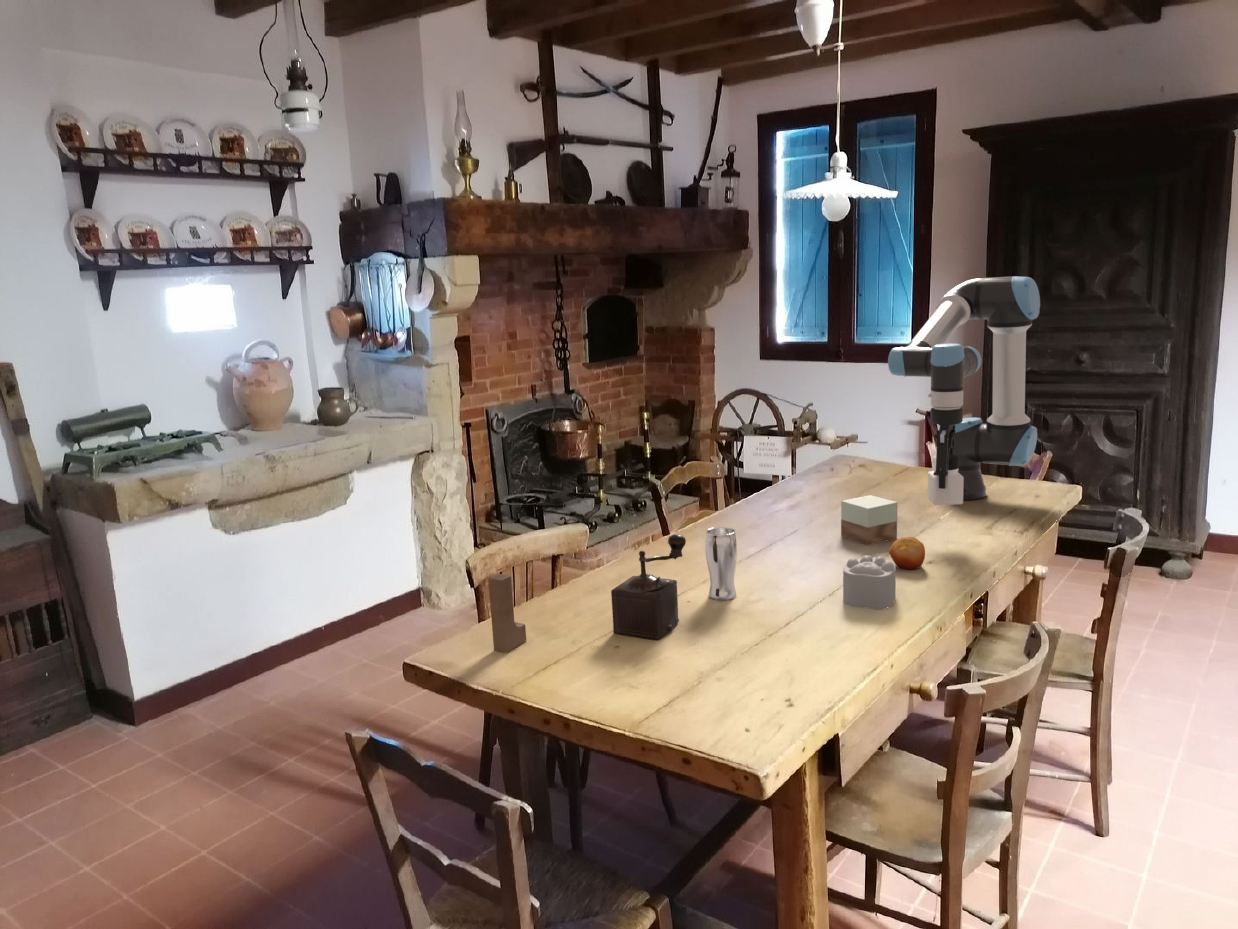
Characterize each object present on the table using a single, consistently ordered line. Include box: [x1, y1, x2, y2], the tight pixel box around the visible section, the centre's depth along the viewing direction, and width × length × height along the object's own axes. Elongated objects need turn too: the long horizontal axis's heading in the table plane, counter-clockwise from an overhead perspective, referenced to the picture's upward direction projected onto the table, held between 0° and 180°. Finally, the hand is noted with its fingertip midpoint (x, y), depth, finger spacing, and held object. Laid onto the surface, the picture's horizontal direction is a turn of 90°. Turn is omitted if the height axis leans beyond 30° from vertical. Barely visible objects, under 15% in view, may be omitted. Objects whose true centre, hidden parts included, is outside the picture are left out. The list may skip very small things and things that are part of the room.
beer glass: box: [704, 526, 738, 601], centre depth 203 cm, size 7×7×15 cm
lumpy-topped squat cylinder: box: [842, 554, 897, 610], centre depth 198 cm, size 10×13×9 cm
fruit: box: [888, 536, 926, 570], centre depth 217 cm, size 8×8×8 cm
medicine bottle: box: [927, 454, 964, 506], centre depth 230 cm, size 7×7×12 cm
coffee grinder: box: [610, 534, 687, 641], centre depth 188 cm, size 16×11×18 cm
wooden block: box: [487, 573, 527, 654], centre depth 181 cm, size 7×3×15 cm, turn 149°
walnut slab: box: [840, 519, 898, 546], centre depth 241 cm, size 10×10×5 cm
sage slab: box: [840, 494, 898, 527], centre depth 240 cm, size 10×10×5 cm
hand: (945, 495), depth 231 cm, fingers closed on medicine bottle, 9 cm apart
